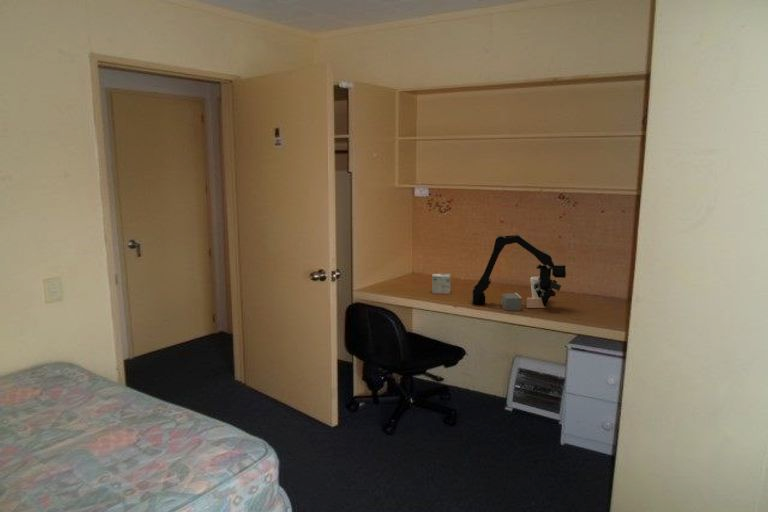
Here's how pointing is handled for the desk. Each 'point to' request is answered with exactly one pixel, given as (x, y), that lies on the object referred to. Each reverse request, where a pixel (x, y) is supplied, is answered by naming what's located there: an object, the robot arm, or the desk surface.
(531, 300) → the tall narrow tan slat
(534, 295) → the foam cup
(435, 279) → the light bulb box
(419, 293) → the desk surface
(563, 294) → the desk surface
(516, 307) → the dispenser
